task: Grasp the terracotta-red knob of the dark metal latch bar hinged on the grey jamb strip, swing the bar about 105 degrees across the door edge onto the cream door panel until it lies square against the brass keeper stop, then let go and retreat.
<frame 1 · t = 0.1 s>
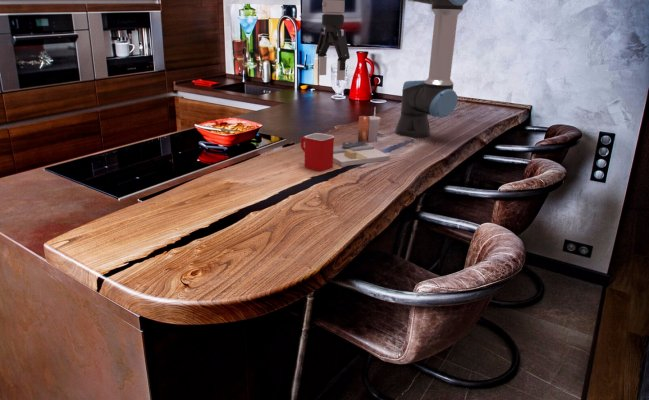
hand: (331, 77, 175), 28 cm above the breakfast bar, fingers open, 13 cm apart
smoothie: (371, 141, 204), on the breakfast bar
mug: (314, 166, 170), on the breakfast bar
door panel: (358, 159, 179), on the breakfast bar
jamb strip: (347, 153, 186), on the breakfast bar
latch bar: (355, 131, 184), point 8 cm above the breakfast bar, hinge at 105.0°
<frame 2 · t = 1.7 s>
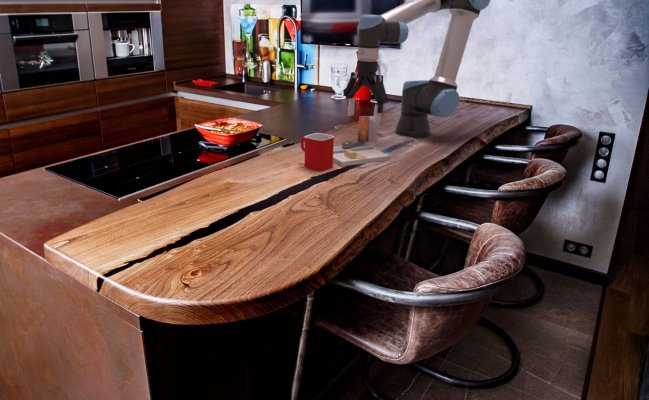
hand: (363, 118, 185), 12 cm above the breakfast bar, fingers open, 13 cm apart
nothing on the breakfast bar moved.
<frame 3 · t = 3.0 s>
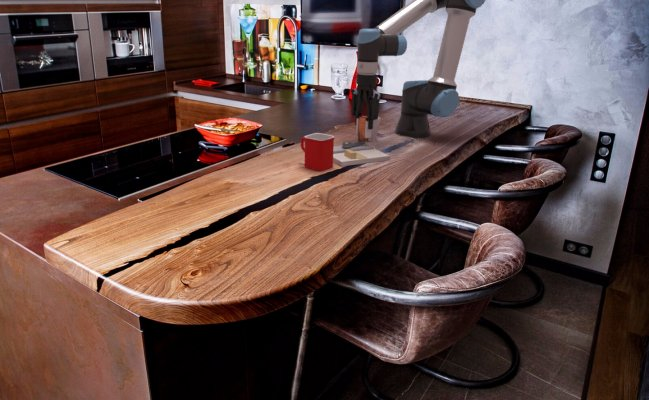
hand: (363, 136, 188), 6 cm above the breakfast bar, fingers closed on latch bar, 4 cm apart
latch bar: (355, 131, 184), point 8 cm above the breakfast bar, hinge at 104.9°, touching gripper
everything else where it was.
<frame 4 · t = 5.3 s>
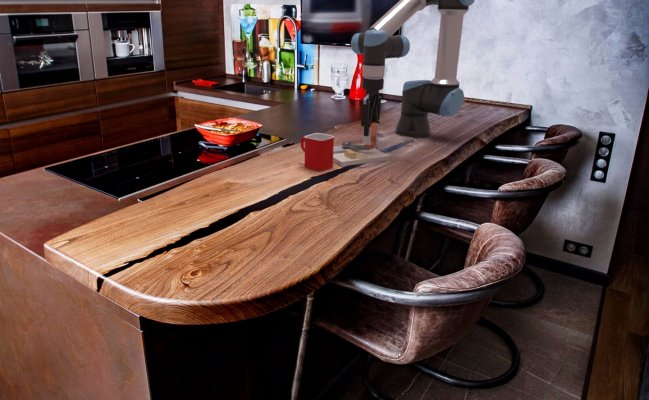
hand: (369, 142, 179), 6 cm above the breakfast bar, fingers open, 5 cm apart
latch bar: (359, 135, 180), point 8 cm above the breakfast bar, hinge at 42.1°, touching gripper
everything else where it was.
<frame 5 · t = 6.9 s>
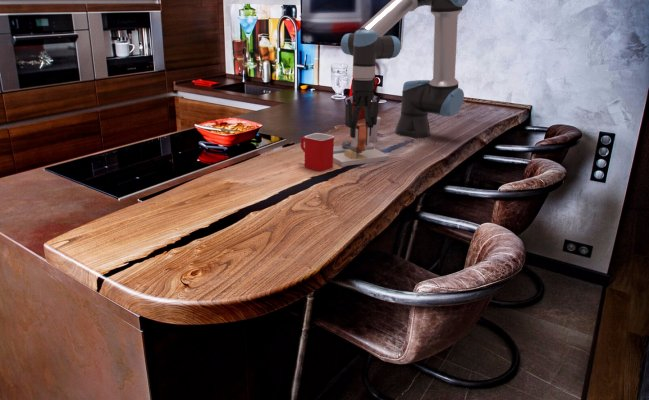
hand: (360, 145, 175), 6 cm above the breakfast bar, fingers closed on latch bar, 4 cm apart
latch bar: (353, 136, 178), point 8 cm above the breakfast bar, hinge at 2.2°, touching gripper
everything else where it was.
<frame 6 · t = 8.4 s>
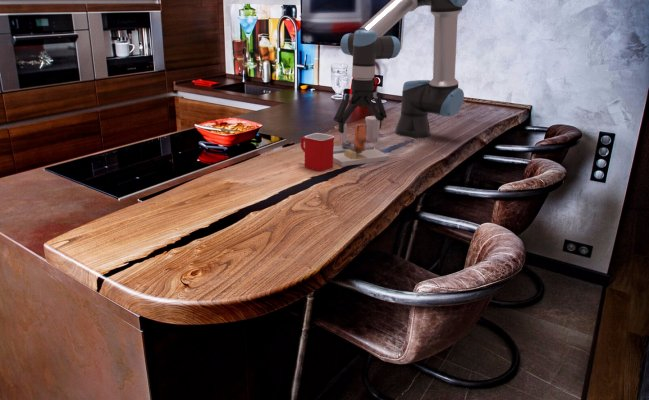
hand: (359, 139, 174), 8 cm above the breakfast bar, fingers open, 13 cm apart
latch bar: (353, 136, 178), point 8 cm above the breakfast bar, hinge at 1.1°
everything else where it was.
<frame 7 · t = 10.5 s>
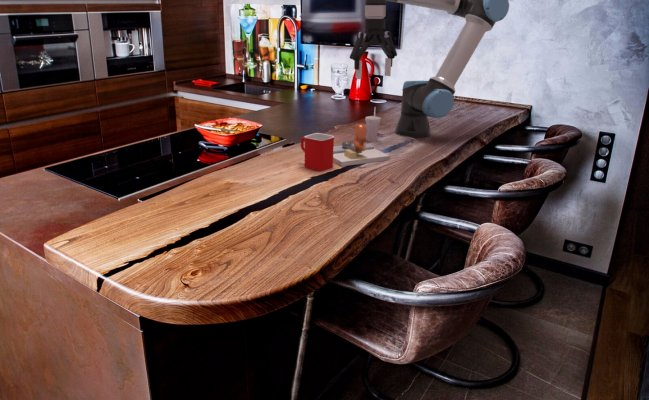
hand: (373, 77, 188), 27 cm above the breakfast bar, fingers open, 13 cm apart
nothing on the breakfast bar moved.
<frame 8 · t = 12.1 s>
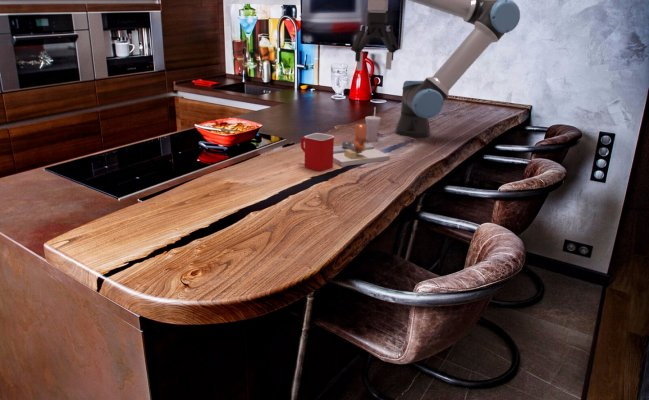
hand: (373, 69, 193), 29 cm above the breakfast bar, fingers open, 13 cm apart
nothing on the breakfast bar moved.
at the end: latch bar at +1° (first picture: +105°); the gripper is holding nothing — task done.
